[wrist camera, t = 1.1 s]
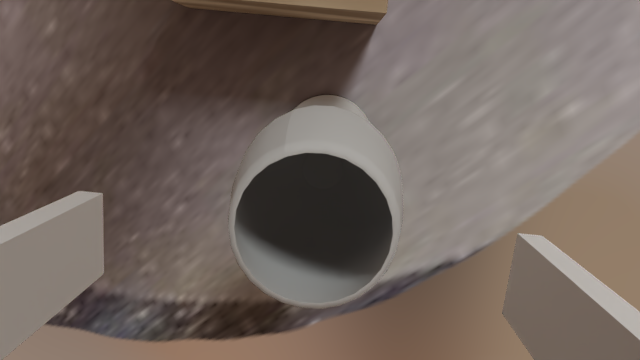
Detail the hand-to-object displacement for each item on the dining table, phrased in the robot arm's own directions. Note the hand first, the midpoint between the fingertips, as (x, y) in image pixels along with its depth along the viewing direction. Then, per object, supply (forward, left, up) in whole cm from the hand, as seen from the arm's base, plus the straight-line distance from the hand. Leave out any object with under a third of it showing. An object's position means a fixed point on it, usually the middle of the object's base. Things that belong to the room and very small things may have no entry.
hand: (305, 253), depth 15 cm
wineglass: (0, 0, -23) cm, 23 cm away
